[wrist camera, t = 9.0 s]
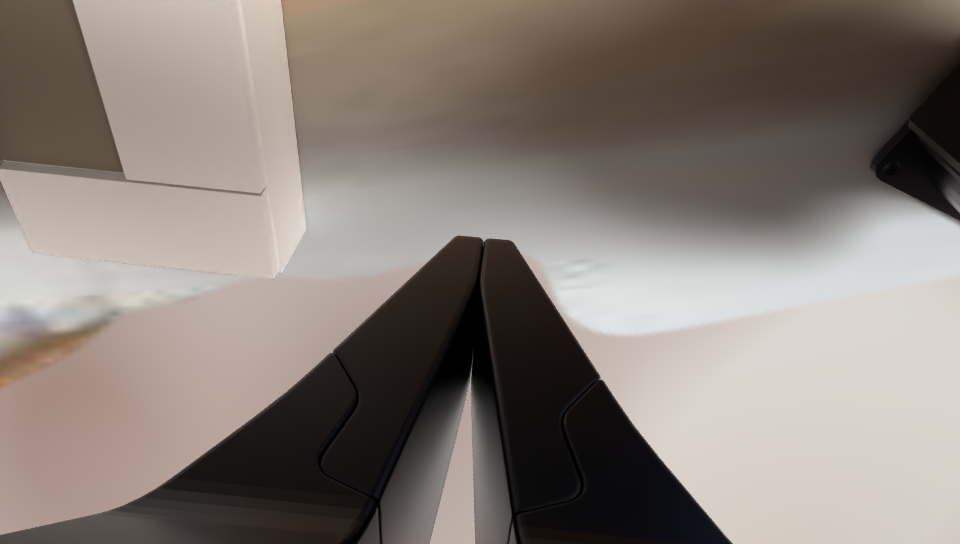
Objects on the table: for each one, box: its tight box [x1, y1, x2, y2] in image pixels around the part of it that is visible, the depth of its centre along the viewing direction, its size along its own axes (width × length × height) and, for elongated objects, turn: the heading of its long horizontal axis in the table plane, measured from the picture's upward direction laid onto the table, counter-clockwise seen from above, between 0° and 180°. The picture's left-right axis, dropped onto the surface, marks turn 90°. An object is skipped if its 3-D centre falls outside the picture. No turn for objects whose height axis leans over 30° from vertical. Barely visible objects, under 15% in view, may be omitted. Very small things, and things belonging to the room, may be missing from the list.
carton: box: [0, 0, 307, 280], centre depth 20 cm, size 9×14×4 cm, turn 176°
